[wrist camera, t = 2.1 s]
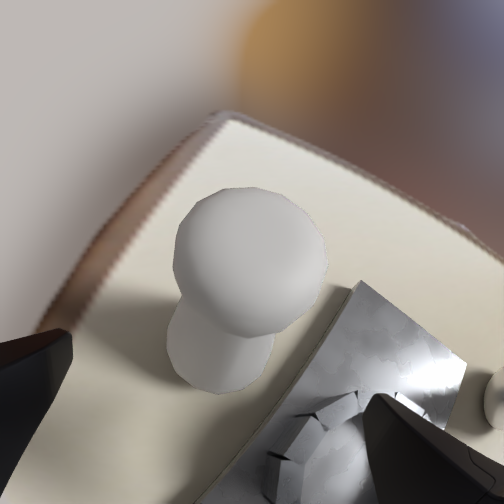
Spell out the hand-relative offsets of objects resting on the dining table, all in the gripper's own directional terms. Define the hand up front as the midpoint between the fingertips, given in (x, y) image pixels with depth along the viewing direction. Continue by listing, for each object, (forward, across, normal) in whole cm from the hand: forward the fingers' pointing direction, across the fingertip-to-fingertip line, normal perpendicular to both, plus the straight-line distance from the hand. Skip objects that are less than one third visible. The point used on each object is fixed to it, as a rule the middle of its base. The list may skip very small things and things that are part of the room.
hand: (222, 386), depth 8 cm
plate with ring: (+5, -9, +10) cm, 14 cm away
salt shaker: (+10, 0, +5) cm, 11 cm away
